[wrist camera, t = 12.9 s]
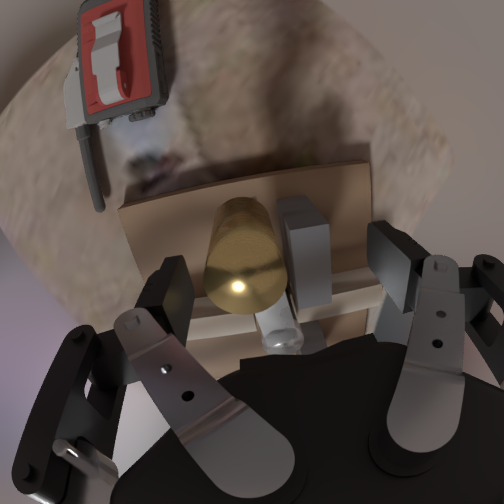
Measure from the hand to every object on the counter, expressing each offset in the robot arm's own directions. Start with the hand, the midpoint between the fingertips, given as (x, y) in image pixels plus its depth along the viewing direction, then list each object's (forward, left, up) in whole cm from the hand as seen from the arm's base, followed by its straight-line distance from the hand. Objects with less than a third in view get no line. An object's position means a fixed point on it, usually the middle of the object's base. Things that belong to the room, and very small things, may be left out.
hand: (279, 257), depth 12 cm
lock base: (-10, +1, -12) cm, 16 cm away
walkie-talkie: (+11, +10, -13) cm, 19 cm away
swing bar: (-5, +1, -6) cm, 8 cm away
